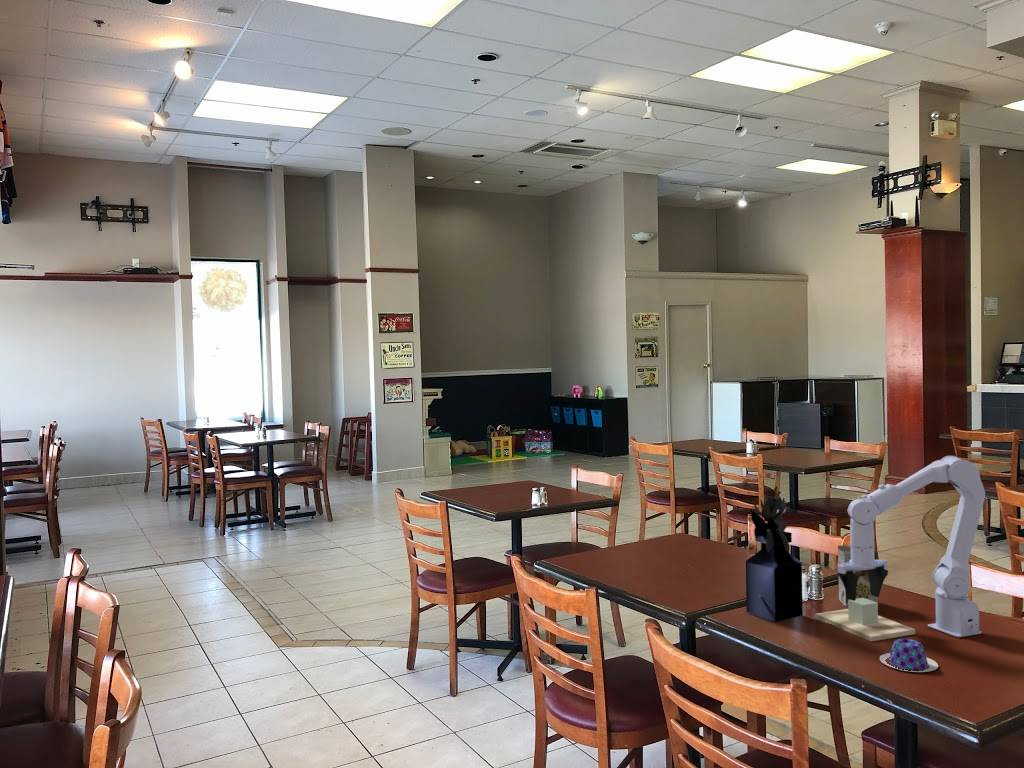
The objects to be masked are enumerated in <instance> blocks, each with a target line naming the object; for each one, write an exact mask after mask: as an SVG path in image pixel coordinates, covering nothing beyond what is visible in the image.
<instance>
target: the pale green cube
mask: <svg viewBox="0 0 1024 768" xmlns="http://www.w3.org/2000/svg"><path fill="white" fill-rule="evenodd" d="M878 608H879V602H878V603H877V602H874V601H871V600H868V599H865V598H858V599H856V600H855V601H853V600H848V606H847V609H848V620H851V621H853V622H856V623H858V624H861V625H867V624H873V623H878V616H879V609H878Z"/></svg>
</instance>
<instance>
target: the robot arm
mask: <svg viewBox="0 0 1024 768" xmlns="http://www.w3.org/2000/svg"><path fill="white" fill-rule="evenodd" d="M980 474H981V471H980V470H979V469H978V468H977V467H976V466H975V465H974V463H972V462H971V461H969V460H966V459H963V458H960V457H958V456H956V455H946V456H944V457H942V458H941V459H937V460H935V461H932V462H931V463H930V464H928V465H926V466H925V467H924V468H922V469H920V470H919V471H917V472H915V473H914V474H913V473H912V474H911V475H910V476H908V477H907V478H905V479H903V480H902V481H900V482H898V483H897V484H890V483H887V484H883V483H881V484H879V485H878V489H876V490H874V491H872V492H870V493H868V494H863V495H862V496H861V497H862V498H857V499H854V500H852V501H851V502H850V504H849V505H848V508H847V514H848V516H849V517H850V522H849V523H850V528H849V534H850V535H849V536H850V541H849V542H850V543H849V544H850V545H851V560H849V562H847V563H844V564H840V565H838V564H837V575H838V578H839V577H840V579H841V580H842V582H843V584H844V587H845V590H846V593H847V597H848V599H850V600H853V601H855V600H856V588H857V582H858V579H859V576H858V575H855V573H853V572H855V571H862V570H867V572H868V576H869V581H870V592H871V595H872V596H875V597H878V598H879V597H880V593H881V590H882V587H883V583H884V582H885V579H886V578H887V576H888V574H889V570H888V560H887V559H883V558H879V559H878V558H877V560H875V555H874V549H875V529H874V522H875V520H876V519H877V516H880V515H882V514H883V513H885V512H887V511H889V510H891V509H893V508H895V507H897V506H898V505H901V504H902V502H903V498H904V496H907V495H909V494H911V493H913V492H915V491H916V490H919V489H921V488H924V487H925V486H927V485H929V484H931V483H944V484H945V483H946V484H947V483H950V484H952V486H953V488H955V489H956V491H957V492H958V494H959V495H960V497H959V502H958V505H957V509H956V513H955V516H954V517H955V518H954V521H953V524H952V529H951V533H950V536H949V540H948V544H947V548H946V551H945V554H944V555H943V556H942V557H941V558H940V561H939V564H938V565H937V567H936V568H935V569H934V570H933V572H932V579H933V582H934V584H935V585H936V586H937V587H936V589H935V592H934V593H935V594H934V596H935V622H934V623H929V624H927V627H929V628H931V629H934V630H937V631H939V632H942V633H945V634H947V635H950V636H953V637H956V638H963V637H969V636H974V635H975V636H976V635H980V634H982V633H983V632H982V631H981V630H980V609H979V605H978V604H977V603H976V602H975V601H973V600H972V599H970V598H969V597H968V595H969V592H970V590H971V581H970V575H971V569H970V565H969V560H970V555H971V552H972V548H973V545H974V540H975V537H976V534H977V529H978V526H979V523H980V522H979V521H980V519H981V513H982V511H983V510H982V509H983V507H984V504H985V500H986V491H985V488H984V484H983V482H982V480H981V476H980Z"/></svg>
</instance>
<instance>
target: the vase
mask: <svg viewBox="0 0 1024 768" xmlns="http://www.w3.org/2000/svg"><path fill="white" fill-rule="evenodd" d="M776 491H778V486H775V487H774V489H773V490H772V493H771V496H769V495H767V494H764V503H763V500H762V499H760V508H761V511H760V510H759V508H758V507H757V504H756V502H755V501H754V502H753V507H754V509H755V510H756V512H755V511H754V510H753V509H750V516H751V520H752V523H753V525H754V527H755V528H754V532H753V535H754V537H755V538H754V539H755V540H754V541H755V542H757V543H760V544H761V545H760V549H759V550H758V551H757V552H756V553H754V554H753V555H752V556H750V557H749V558H747V559H746V560H745V594H746V596H745V601H746V604H745V605H746V606H745V607H746V613H747V614H749V615H751V616H755V617H758V618H761V619H764V620H766V621H769V622H773V623H779V622H783V621H786V620H790V619H795V618H800V617H803V616H804V615H803V613H804V611H803V609H804V608H803V605H804V604H803V601H804V600H803V597H804V596H803V562H802V561H800V560H799V559H798V558H796V557H795V556H794V555H793V554H791V553H789V551H790V545H789V544H790V543H792V542H793V540H792V538H793V537H792V532H788V531H785V530H786V529H787V528H788V526H789V523H783V515H784V513H785V512H786V510H787V509H786V508H787V505H788V504H787V501H786V500H785V498H784V497H783V498H782V497H781V496H779V497H778V495H779V494H782V492H781V491H779V492H778V493H777V494H776V496H775V492H776ZM777 497H778V498H777ZM764 519H765V520H766V521H767V522H766V521H765V520H764Z"/></svg>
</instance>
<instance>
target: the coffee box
mask: <svg viewBox="0 0 1024 768" xmlns="http://www.w3.org/2000/svg"><path fill="white" fill-rule="evenodd" d="M874 555H875V560H878V558H877V557H878V554H877V549H875V548H874ZM837 560H838V561H837V562H838V563H837V566H838V565H840V564H844V563H847V562H849V560H851V545H848V544H846V545H845V544H844V545H837ZM853 573H855V575H858V576H859V579H858V582H857V588H856V599H858V598H865V599H868V600H871V601H874V602H877V603H878V604H879V597H875V596H872V595H871V592H870V581H869V576H868V572H867V570H862V571H855V572H853ZM839 600H840V603H842V605H843V606H845V607H848V600H850V599H848V597H847V593H846V590H845V587H844V584H843V582H842V580H841V579H840V577H839V576H838V601H839Z"/></svg>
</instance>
